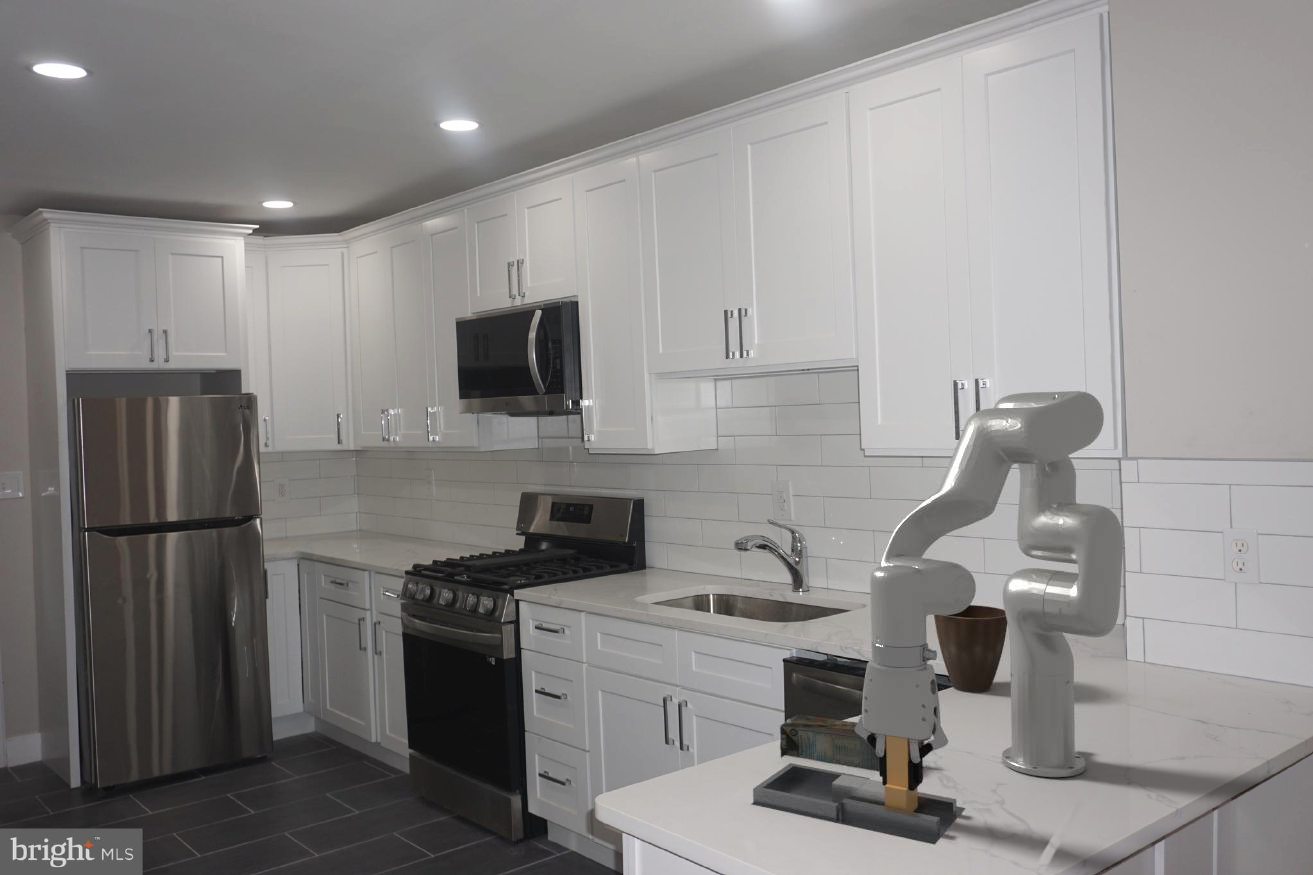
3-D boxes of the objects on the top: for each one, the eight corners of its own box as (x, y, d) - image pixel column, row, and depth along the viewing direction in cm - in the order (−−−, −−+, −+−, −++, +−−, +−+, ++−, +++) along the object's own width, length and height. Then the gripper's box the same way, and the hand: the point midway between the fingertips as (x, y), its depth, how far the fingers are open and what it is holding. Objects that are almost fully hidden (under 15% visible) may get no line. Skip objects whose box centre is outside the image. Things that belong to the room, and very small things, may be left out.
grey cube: (869, 803, 144) (868, 779, 144) (895, 808, 142) (895, 784, 142) (858, 812, 141) (858, 788, 141) (886, 818, 139) (885, 793, 139)
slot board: (792, 779, 157) (792, 761, 157) (965, 813, 142) (965, 793, 142) (751, 809, 145) (750, 790, 145) (934, 850, 130) (934, 828, 130)
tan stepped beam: (897, 802, 143) (895, 719, 142) (917, 806, 141) (916, 722, 141) (885, 814, 138) (883, 728, 138) (906, 818, 137) (904, 732, 137)
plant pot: (947, 675, 217) (946, 602, 217) (1018, 684, 209) (1017, 608, 209) (924, 691, 205) (923, 613, 205) (998, 701, 197) (997, 620, 196)
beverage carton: (797, 746, 173) (797, 708, 173) (906, 764, 163) (906, 724, 163) (778, 760, 166) (778, 721, 166) (891, 780, 156) (890, 738, 156)
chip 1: (843, 798, 147) (842, 774, 146) (869, 802, 144) (868, 778, 144) (832, 807, 143) (831, 782, 143) (859, 812, 141) (858, 787, 141)
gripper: (965, 655, 138) (967, 787, 138) (853, 643, 147) (855, 767, 147) (949, 667, 132) (951, 805, 132) (833, 654, 141) (836, 783, 141)
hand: (901, 783), depth 140 cm, fingers closed on tan stepped beam, 3 cm apart
